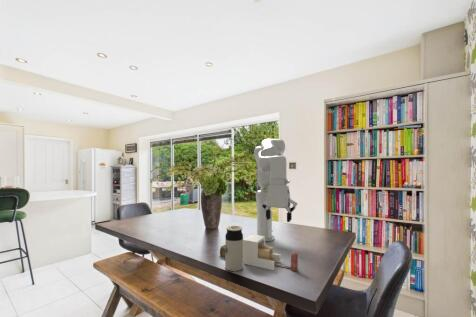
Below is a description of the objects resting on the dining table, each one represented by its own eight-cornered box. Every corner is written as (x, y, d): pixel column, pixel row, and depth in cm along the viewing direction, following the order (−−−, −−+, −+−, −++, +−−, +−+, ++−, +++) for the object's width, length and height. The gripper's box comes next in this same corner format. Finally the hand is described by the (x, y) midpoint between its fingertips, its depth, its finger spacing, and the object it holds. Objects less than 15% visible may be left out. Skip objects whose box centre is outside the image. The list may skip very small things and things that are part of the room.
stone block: (225, 252, 121) (226, 243, 121) (243, 257, 114) (243, 247, 114) (218, 256, 116) (219, 246, 116) (236, 261, 109) (237, 251, 110)
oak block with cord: (257, 259, 112) (257, 244, 113) (299, 267, 102) (299, 252, 103) (252, 263, 107) (252, 248, 107) (296, 273, 97) (295, 256, 98)
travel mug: (242, 264, 106) (242, 225, 107) (243, 271, 98) (243, 229, 99) (225, 264, 106) (225, 225, 107) (225, 271, 98) (225, 229, 99)
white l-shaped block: (252, 255, 116) (252, 234, 117) (280, 261, 109) (280, 238, 109) (242, 263, 107) (243, 239, 107) (273, 270, 100) (273, 244, 100)
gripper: (299, 182, 103) (299, 221, 101) (264, 182, 111) (264, 217, 110) (294, 183, 96) (294, 224, 95) (257, 182, 105) (257, 219, 104)
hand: (278, 220), depth 102 cm, fingers open, 9 cm apart
